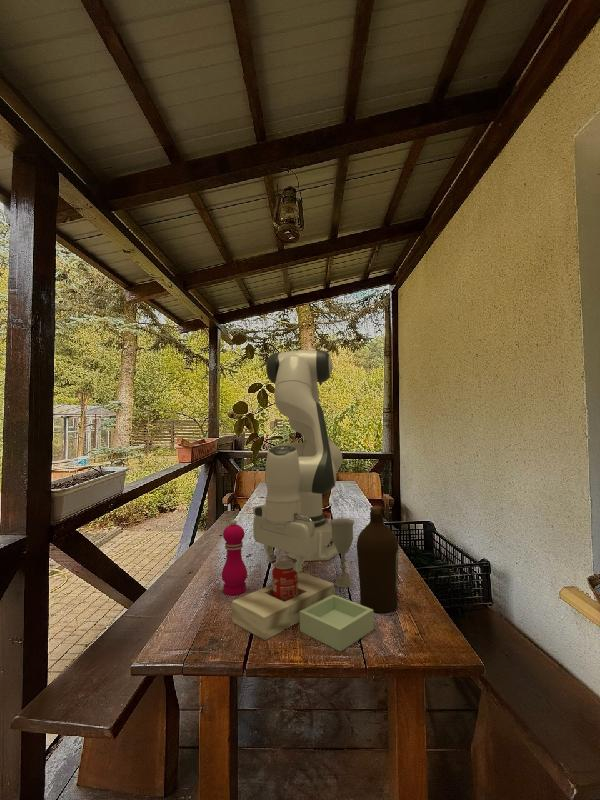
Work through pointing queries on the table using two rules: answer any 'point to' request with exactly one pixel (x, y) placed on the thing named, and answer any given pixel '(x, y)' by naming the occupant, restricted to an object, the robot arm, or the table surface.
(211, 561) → the table surface
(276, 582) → the beverage can
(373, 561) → the olive oil
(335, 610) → the shallow square tray
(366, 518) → the table surface
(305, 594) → the socket beam
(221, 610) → the table surface
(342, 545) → the chalice
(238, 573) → the pepper mill
